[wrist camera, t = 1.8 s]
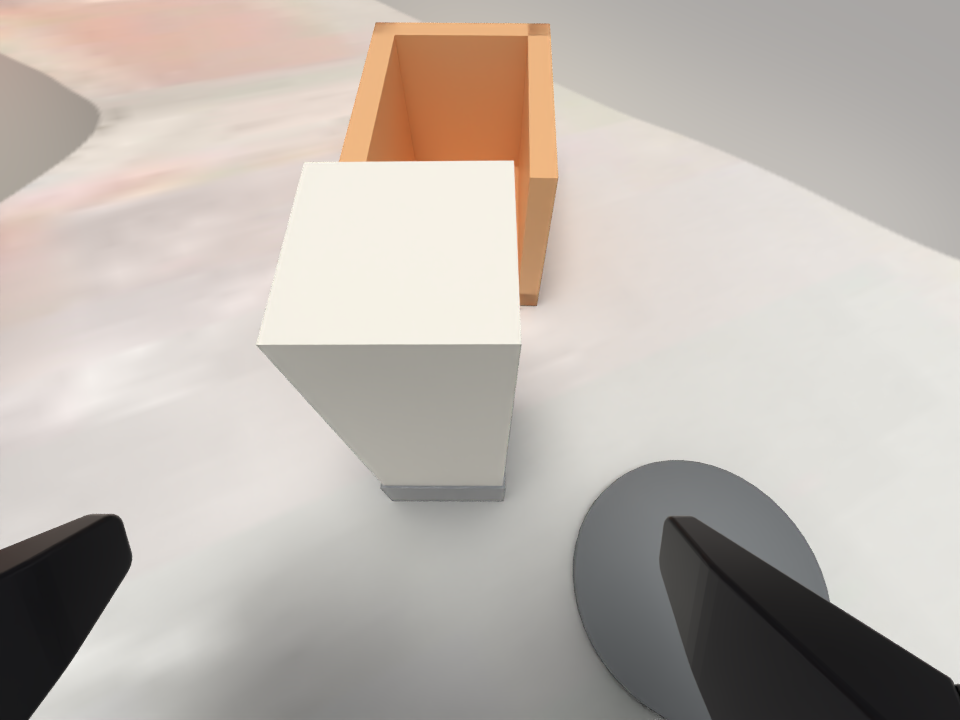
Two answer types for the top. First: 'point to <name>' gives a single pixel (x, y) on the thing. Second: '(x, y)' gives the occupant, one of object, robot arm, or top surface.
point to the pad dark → (637, 578)
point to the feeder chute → (466, 113)
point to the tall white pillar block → (404, 318)
